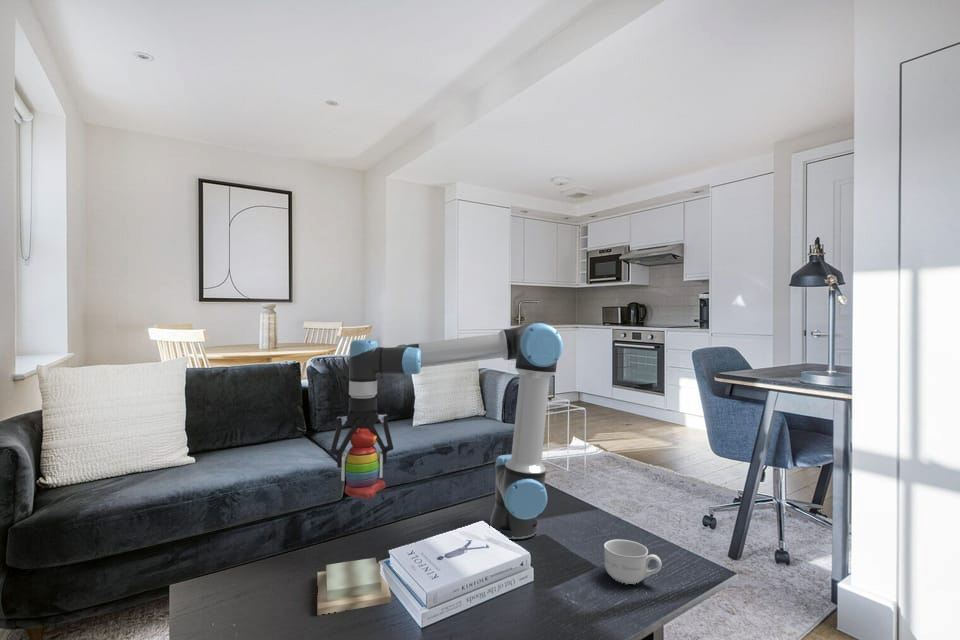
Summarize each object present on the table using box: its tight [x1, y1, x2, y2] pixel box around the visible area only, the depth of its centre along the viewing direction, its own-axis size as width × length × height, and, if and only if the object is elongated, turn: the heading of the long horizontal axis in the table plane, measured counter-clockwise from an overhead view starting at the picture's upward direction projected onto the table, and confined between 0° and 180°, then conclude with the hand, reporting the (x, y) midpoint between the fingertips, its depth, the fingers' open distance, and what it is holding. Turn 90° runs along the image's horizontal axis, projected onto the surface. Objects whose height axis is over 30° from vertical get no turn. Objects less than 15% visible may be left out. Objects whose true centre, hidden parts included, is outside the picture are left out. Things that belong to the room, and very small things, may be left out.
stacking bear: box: [344, 428, 387, 499], centre depth 130 cm, size 11×10×18 cm
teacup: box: [603, 538, 663, 585], centre depth 119 cm, size 14×11×8 cm
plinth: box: [316, 557, 392, 617], centre depth 114 cm, size 16×16×4 cm
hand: (361, 477), depth 130 cm, fingers closed on stacking bear, 9 cm apart
